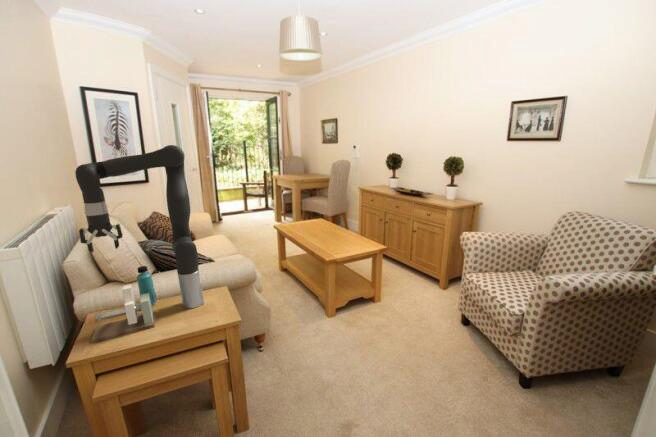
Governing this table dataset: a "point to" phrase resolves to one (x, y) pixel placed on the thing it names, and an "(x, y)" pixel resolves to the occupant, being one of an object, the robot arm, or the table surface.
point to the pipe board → (120, 329)
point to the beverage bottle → (146, 283)
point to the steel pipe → (115, 313)
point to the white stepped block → (130, 304)
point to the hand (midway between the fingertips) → (104, 249)
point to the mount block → (146, 308)
